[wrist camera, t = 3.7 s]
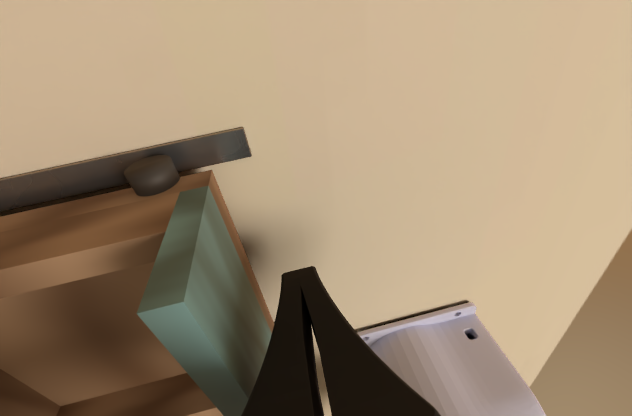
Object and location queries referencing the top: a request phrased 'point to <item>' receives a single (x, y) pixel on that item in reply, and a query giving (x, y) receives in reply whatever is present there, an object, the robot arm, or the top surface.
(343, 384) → the robot arm
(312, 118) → the top surface
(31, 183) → the rails
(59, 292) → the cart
